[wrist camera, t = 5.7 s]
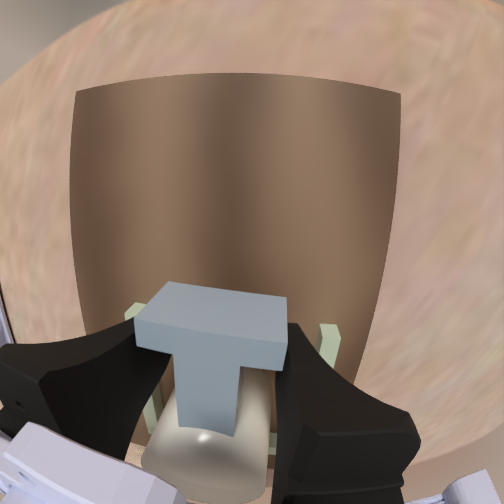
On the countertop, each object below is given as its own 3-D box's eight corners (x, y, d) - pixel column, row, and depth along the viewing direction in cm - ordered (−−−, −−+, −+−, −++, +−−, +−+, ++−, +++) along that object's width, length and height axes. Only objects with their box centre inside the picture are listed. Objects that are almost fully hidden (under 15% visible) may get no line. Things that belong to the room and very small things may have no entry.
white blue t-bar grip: (265, 424, 15) (257, 510, 9) (182, 410, 15) (150, 489, 9) (292, 278, 12) (300, 365, 7) (178, 263, 13) (108, 332, 7)
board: (121, 431, 18) (118, 437, 17) (85, 94, 12) (76, 91, 11) (318, 461, 17) (318, 469, 16) (394, 97, 11) (400, 93, 10)
